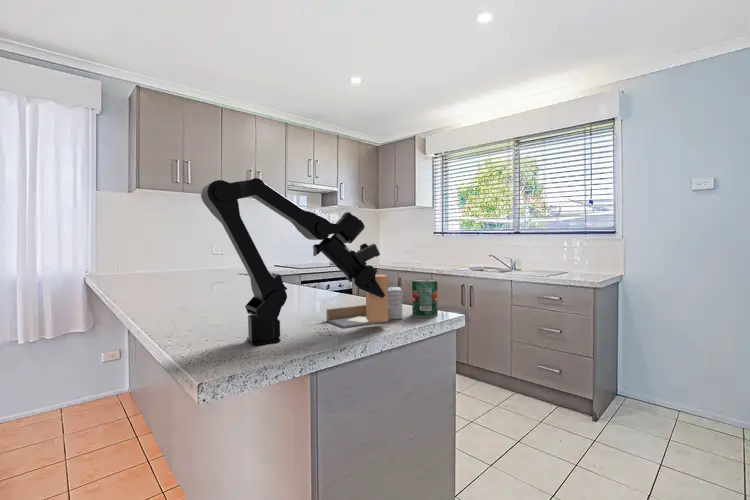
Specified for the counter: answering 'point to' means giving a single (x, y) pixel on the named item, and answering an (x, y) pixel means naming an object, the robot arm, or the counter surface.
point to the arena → (350, 316)
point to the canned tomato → (424, 298)
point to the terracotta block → (378, 302)
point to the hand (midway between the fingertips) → (381, 295)
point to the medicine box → (395, 302)
